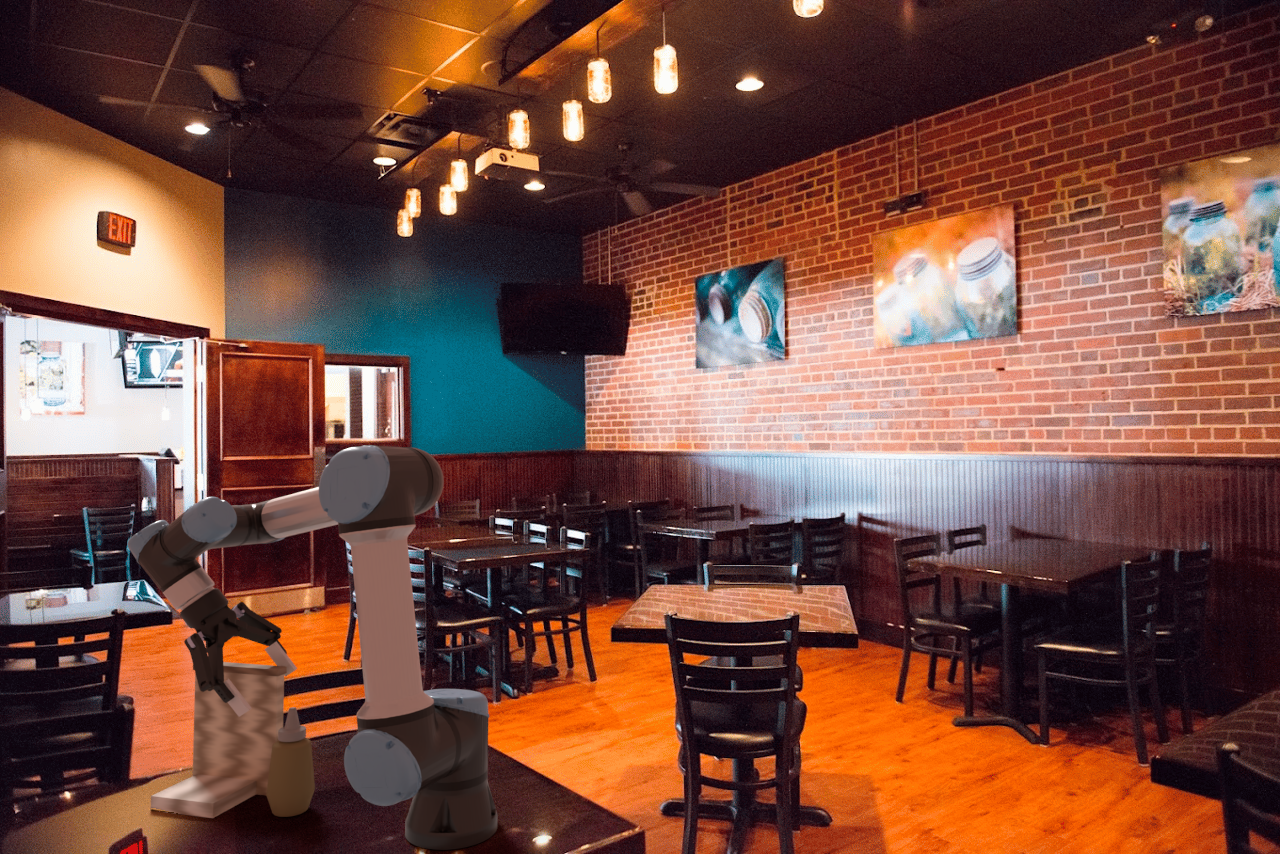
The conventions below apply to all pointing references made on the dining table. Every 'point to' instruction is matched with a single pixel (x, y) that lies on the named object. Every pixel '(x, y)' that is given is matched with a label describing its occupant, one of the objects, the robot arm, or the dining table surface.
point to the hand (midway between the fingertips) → (269, 691)
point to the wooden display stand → (230, 744)
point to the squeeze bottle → (291, 770)
